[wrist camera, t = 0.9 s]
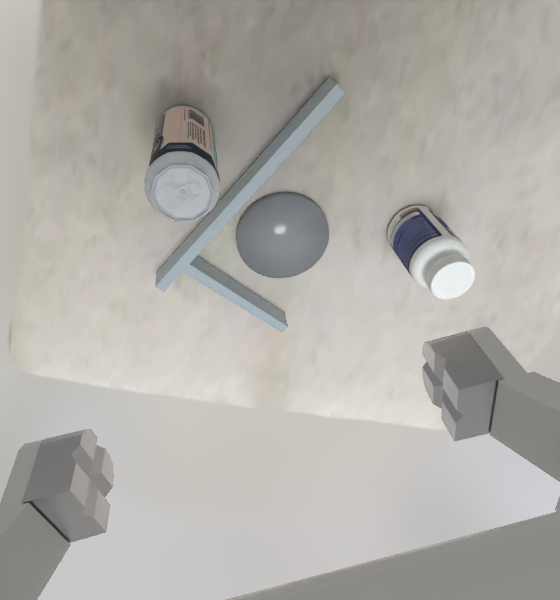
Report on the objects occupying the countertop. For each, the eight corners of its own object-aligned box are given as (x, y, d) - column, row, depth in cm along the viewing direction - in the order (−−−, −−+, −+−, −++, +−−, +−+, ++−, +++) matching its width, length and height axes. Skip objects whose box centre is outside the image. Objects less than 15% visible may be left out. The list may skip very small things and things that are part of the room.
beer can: (145, 114, 37) (129, 171, 28) (201, 95, 37) (205, 146, 27) (169, 169, 40) (162, 237, 31) (221, 152, 40) (231, 215, 30)
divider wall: (329, 76, 37) (337, 83, 35) (425, 181, 45) (436, 192, 43) (156, 272, 46) (155, 286, 44) (260, 334, 53) (263, 349, 51)
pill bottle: (380, 250, 49) (415, 306, 41) (392, 202, 45) (433, 254, 38) (427, 250, 50) (471, 305, 42) (443, 204, 46) (493, 255, 39)
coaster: (280, 173, 42) (282, 177, 41) (344, 228, 46) (347, 233, 46) (217, 241, 45) (218, 246, 44) (283, 286, 50) (285, 292, 49)
